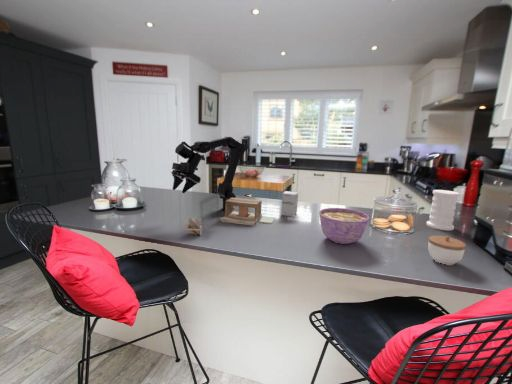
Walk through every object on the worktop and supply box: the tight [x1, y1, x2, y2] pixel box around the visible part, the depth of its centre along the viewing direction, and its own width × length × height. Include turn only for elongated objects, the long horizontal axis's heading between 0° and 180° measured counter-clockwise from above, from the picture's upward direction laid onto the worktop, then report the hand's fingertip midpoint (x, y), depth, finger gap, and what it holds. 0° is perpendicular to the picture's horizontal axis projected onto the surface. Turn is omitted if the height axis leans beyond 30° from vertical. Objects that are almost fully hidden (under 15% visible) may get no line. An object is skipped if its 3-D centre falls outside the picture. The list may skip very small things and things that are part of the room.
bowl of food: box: [318, 207, 370, 245], centre depth 110 cm, size 20×20×12 cm
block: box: [238, 206, 249, 217], centre depth 137 cm, size 4×4×7 cm
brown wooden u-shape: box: [224, 197, 262, 219], centre depth 137 cm, size 9×17×7 cm, turn 74°
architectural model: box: [182, 217, 203, 236], centre depth 112 cm, size 3×7×7 cm, turn 83°
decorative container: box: [426, 189, 460, 231], centre depth 131 cm, size 12×12×18 cm
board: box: [220, 210, 263, 226], centre depth 136 cm, size 16×17×2 cm
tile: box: [258, 215, 276, 225], centre depth 134 cm, size 9×6×1 cm
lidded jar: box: [427, 235, 467, 266], centre depth 93 cm, size 11×11×9 cm
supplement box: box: [280, 190, 299, 217], centre depth 145 cm, size 7×7×13 cm
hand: (177, 191), depth 128 cm, fingers open, 9 cm apart
